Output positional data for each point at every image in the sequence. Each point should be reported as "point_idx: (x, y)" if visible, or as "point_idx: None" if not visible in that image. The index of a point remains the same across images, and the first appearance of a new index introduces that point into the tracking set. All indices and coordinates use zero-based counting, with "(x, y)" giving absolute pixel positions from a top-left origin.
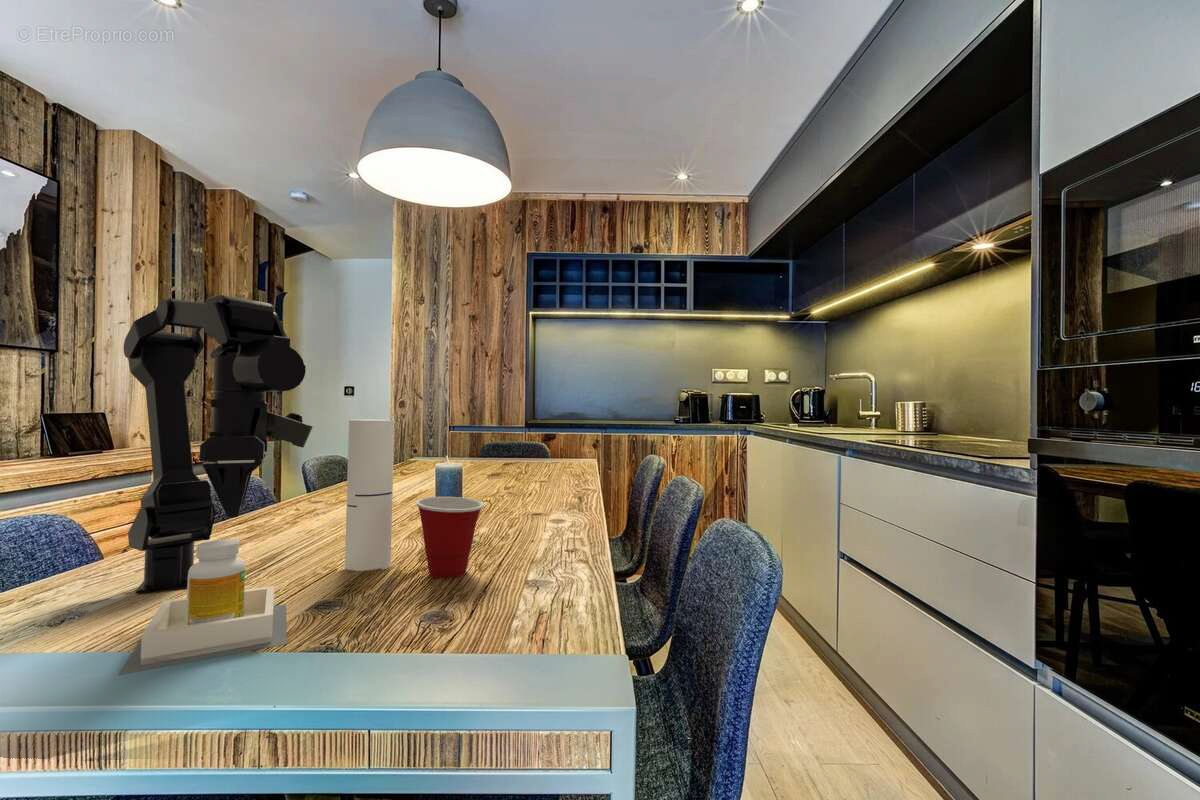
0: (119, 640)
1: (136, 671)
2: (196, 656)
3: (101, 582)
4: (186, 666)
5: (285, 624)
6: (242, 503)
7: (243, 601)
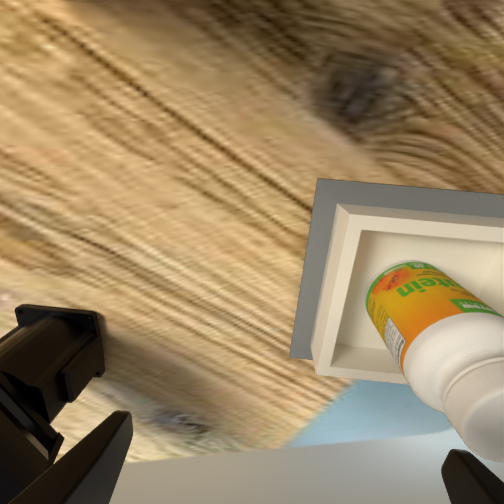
0: (314, 376)
1: None
2: None
3: None
4: None
5: (445, 191)
6: (127, 421)
7: (443, 277)
